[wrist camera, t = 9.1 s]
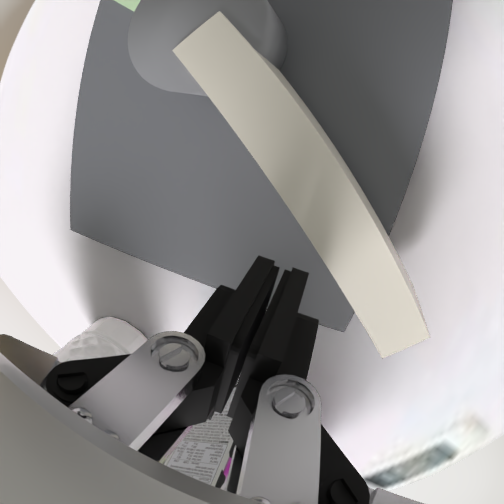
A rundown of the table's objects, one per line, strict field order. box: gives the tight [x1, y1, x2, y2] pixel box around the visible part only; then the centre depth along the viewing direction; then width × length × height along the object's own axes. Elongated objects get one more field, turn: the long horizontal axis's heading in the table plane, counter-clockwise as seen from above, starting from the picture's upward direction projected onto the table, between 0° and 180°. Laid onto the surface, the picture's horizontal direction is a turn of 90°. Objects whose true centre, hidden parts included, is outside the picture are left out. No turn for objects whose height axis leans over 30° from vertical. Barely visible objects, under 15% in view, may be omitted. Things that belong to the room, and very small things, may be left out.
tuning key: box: [128, 0, 430, 359], centre depth 10 cm, size 22×5×4 cm, turn 37°
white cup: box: [53, 317, 148, 362], centre depth 19 cm, size 8×8×10 cm
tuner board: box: [70, 0, 453, 332], centre depth 13 cm, size 20×18×1 cm
